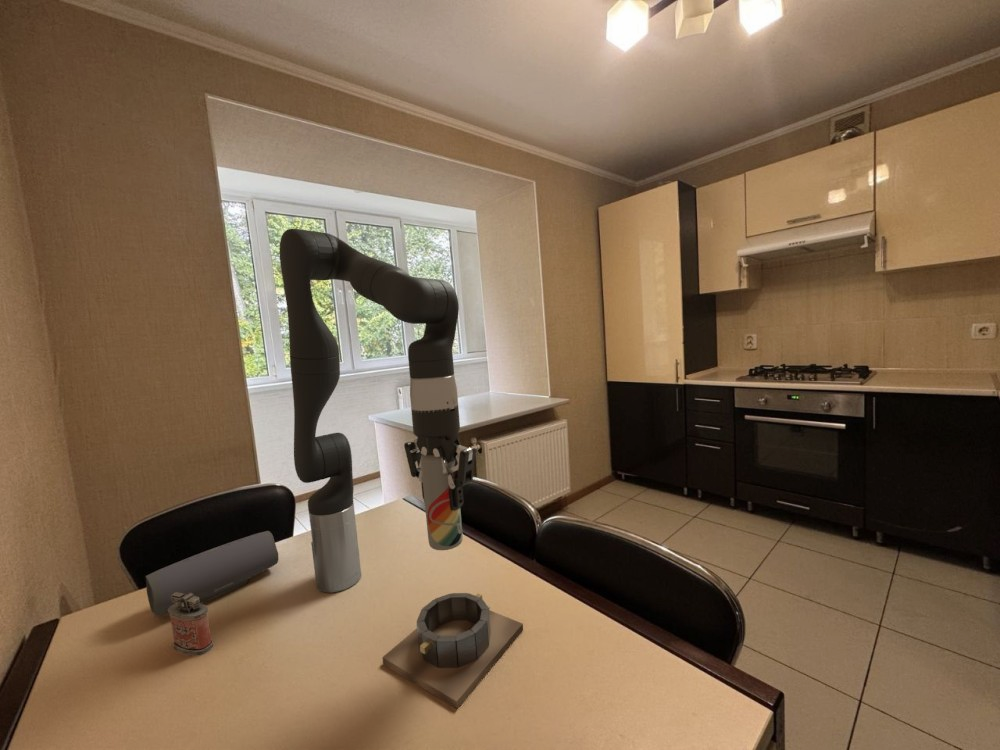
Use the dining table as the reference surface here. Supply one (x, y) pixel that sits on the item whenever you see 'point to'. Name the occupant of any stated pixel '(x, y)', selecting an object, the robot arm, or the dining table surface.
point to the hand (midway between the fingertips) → (443, 504)
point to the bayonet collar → (456, 647)
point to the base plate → (452, 681)
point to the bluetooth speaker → (212, 571)
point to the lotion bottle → (439, 502)
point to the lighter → (190, 625)
